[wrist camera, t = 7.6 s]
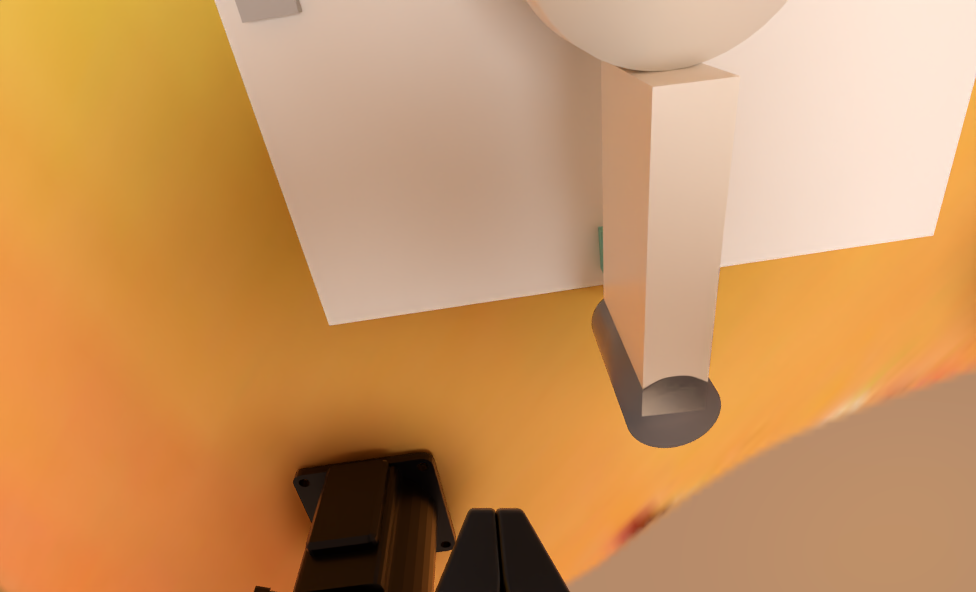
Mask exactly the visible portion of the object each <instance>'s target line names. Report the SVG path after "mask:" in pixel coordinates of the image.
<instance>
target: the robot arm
mask: <svg viewBox="0 0 976 592" xmlns="http://www.w3.org/2000/svg"><path fill="white" fill-rule="evenodd" d="M420 463H425V464H420ZM304 479H306V480H304ZM293 484H294V486H295V488H296V491H297V493H298V495H299V497H300V499H301V501H302V503H303V505H304V508H305V510H306V512H307V514H308V516H309V518H310V520H311V522H312V525H311V528H310V532H309V535H308V538H307V542H306V548H305V552H304V555H303V559H302V562H301V566H300V569H299V572H298V576H297V579H296V583H295V586H294V590H293V592H434V576H435V558H436V552H442V551H449V550H452V552H451V554H450V557H449V559H448V562H447V564H446V566H445V569H444V571H443V574H442V576H441V579H440V581H439V583H438V586H437V588H436V591H435V592H570V591H569V590H568V588H567V586H566V584H565V582H564V581H563V579H562V577H561V576H560V574H559V572H558V570H557V569H556V567H555V565H554V563H553V562H552V560H551V558H550V556H549V555H548V553H547V551H546V550H545V548H544V546H543V544H542V543H541V541H540V539H539V537H538V536H537V534H536V532H535V530H534V529H533V527H532V525H531V524H530V522H529V520H528V518H527V517H526V515H525V513H524V512H523V511H522V510H521V509H518V508H500V509H498V510H497V511H496V513H495V510H494V509H492V508H472V509H470V510H469V511H468V513H467V515H466V518H465V520H464V523H463V525H462V528H461V530H460V532H459V535H458V537H457V540H456V536H455V532H454V529H453V525H452V521H451V518H450V514H449V511H448V507H447V504H446V500H445V497H444V493H443V489H442V486H441V482H440V479H439V475H438V472H437V468H436V465H435V461H434V458H433V456H432V455H430V454H428V453H414V454H406V455H399V456H392V457H384V458H377V459H370V460H363V461H355V462H348V463H341V464H333V465H326V466H319V467H312V468H304V469H300V470H298V471H297V472H296V475H295V478H294V480H293ZM270 589H271V588H267V587H261V586H256V587H255V590H254V592H275V591H270Z"/></svg>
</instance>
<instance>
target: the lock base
mask: <svg viewBox="0 0 976 592" xmlns="http://www.w3.org/2000/svg"><path fill="white" fill-rule="evenodd" d="M215 3H216V6H217V9H218V12H219V15H220V17H221V20H222V23H223V26H224V29H225V32H226V34H227V37H228V40H229V43H230V46H231V49H232V51H233V54H234V57H235V60H236V63H237V66H238V68H239V71H240V74H241V77H242V80H243V83H244V85H245V88H246V91H247V94H248V97H249V100H250V102H251V105H252V108H253V111H254V114H255V117H256V119H257V122H258V125H259V128H260V131H261V134H262V136H263V139H264V142H265V145H266V148H267V151H268V153H269V156H270V159H271V162H272V165H273V168H274V170H275V173H276V176H277V179H278V182H279V185H280V187H281V190H282V193H283V196H284V199H285V202H286V204H287V207H288V210H289V213H290V216H291V219H292V221H293V224H294V227H295V230H296V233H297V236H298V238H299V241H300V244H301V247H302V250H303V253H304V255H305V258H306V261H307V264H308V267H309V270H310V272H311V275H312V278H313V281H314V284H315V286H316V289H317V292H318V295H319V298H320V301H321V303H322V306H323V309H324V312H325V315H326V318H327V320H328V323H329V326H330V325H337V324H344V323H350V322H357V321H364V320H370V319H377V318H384V317H390V316H397V315H404V314H410V313H417V312H424V311H430V310H437V309H444V308H451V307H457V306H464V305H471V304H477V303H484V302H491V301H497V300H504V299H511V298H517V297H524V296H531V295H537V294H544V293H551V292H557V291H564V290H571V289H578V288H584V287H591V286H598V285H604V284H603V189H602V94H601V60H600V59H597V58H596V57H594V56H592V55H590V54H589V53H587V52H585V51H584V50H582V49H580V48H578V47H577V46H575V45H573V44H571V43H570V42H568V41H566V40H565V39H563V38H561V37H560V36H558V35H557V34H556V33H555V32H553V31H552V30H551V29H550V28H548V27H547V26H546V25H545V24H544V23H543V22H542V20H541V19H540V18H539V17H538V16H537V15H536V14H535V12H534V11H533V10H532V8H531V7H530V5H529V4H528V3H527V1H526V0H215ZM702 63H703V64H706V65H709V66H712V67H715V68H718V69H721V70H724V71H727V72H729V73H732V74H735V75H738V76H740V84H739V94H738V103H737V112H736V122H735V131H734V141H733V150H732V159H731V169H730V178H729V188H728V197H727V206H726V216H725V225H724V234H723V244H722V253H721V263H720V267H725V266H731V265H738V264H745V263H751V262H758V261H765V260H771V259H778V258H785V257H791V256H798V255H805V254H811V253H818V252H825V251H832V250H838V249H845V248H852V247H858V246H865V245H872V244H878V243H885V242H892V241H898V240H905V239H912V238H918V237H925V236H932V235H934V231H935V227H936V223H937V220H938V216H939V212H940V208H941V205H942V201H943V197H944V193H945V190H946V186H947V182H948V178H949V175H950V171H951V167H952V163H953V160H954V156H955V152H956V148H957V145H958V141H959V137H960V133H961V130H962V126H963V122H964V118H965V115H966V111H967V107H968V103H969V100H970V96H971V92H972V88H973V85H974V81H975V77H976V0H788V1H787V2H786V3H785V4H784V6H783V7H782V8H781V9H780V10H779V11H778V12H777V13H776V14H775V15H774V16H773V17H772V18H771V19H770V20H769V21H768V22H767V23H766V24H765V25H764V26H763V27H761V28H760V29H759V30H758V31H756V32H755V33H754V34H753V35H751V36H750V37H749V38H748V39H746V40H745V41H743V42H742V43H740V44H738V45H737V46H735V47H734V48H732V49H730V50H729V51H727V52H725V53H723V54H721V55H719V56H717V57H715V58H712V59H710V60H708V61H705V62H702Z"/></svg>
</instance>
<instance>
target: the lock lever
mask: <svg viewBox="0 0 976 592" xmlns="http://www.w3.org/2000/svg"><path fill="white" fill-rule="evenodd" d="M526 1H527V3H528V4H529V5H530V7H531V8H532V10H533V11H534V12H535V14H536V15H537V16H538V17H539V18H540V19H541V20H542V22H543V23H544V24H545V25H546V26H547V27H548V28H550V29H551V30H552V31H553V32H555V33H556V34H557V35H558V36H560V37H561V38H563V39H565V40H566V41H568V42H570V43H571V44H573V45H575V46H577V47H578V48H580V49H582V50H584V51H585V52H587V53H589V54H590V55H592V56H594V57H596V58H597V59H600V60H601V94H602V189H603V284H604V299H603V300H602V301H601V302H600V303H599V304H598V306H597V307H596V309H595V311H594V313H593V316H592V329H593V333H594V335H595V338H596V341H597V344H598V347H599V349H600V352H601V355H602V358H603V360H604V363H605V366H606V369H607V372H608V374H609V377H610V380H611V383H612V385H613V388H614V391H615V394H616V397H617V399H618V402H619V405H620V408H621V410H622V413H623V416H624V419H625V422H626V424H627V427H628V429H629V431H630V433H631V434H632V435H633V437H634V438H636V439H637V440H638V441H640V442H641V443H643V444H646V445H648V446H652V447H658V448H671V447H677V446H681V445H685V444H687V443H690V442H692V441H694V440H696V439H698V438H700V437H701V436H702V435H704V434H705V433H706V432H707V431H708V430H709V429H710V428H711V427H712V426H713V425H714V423H715V422H716V420H717V418H718V416H719V413H720V409H721V401H720V397H719V394H718V392H717V390H716V389H715V387H714V386H713V384H712V382H711V381H710V379H709V377H708V375H709V366H710V356H711V347H712V338H713V328H714V319H715V309H716V300H717V291H718V281H719V272H720V263H721V253H722V244H723V234H724V225H725V216H726V206H727V197H728V188H729V178H730V169H731V159H732V150H733V141H734V131H735V122H736V112H737V103H738V94H739V84H740V76H738V75H735V74H732V73H729V72H727V71H724V70H721V69H718V68H715V67H712V66H709V65H706V64H703V63H702V62H705V61H708V60H710V59H712V58H715V57H717V56H719V55H721V54H723V53H725V52H727V51H729V50H730V49H732V48H734V47H735V46H737V45H738V44H740V43H742V42H743V41H745V40H746V39H748V38H749V37H750V36H751V35H753V34H754V33H755V32H756V31H758V30H759V29H760V28H761V27H763V26H764V25H765V24H766V23H767V22H768V21H769V20H770V19H771V18H772V17H773V16H774V15H775V14H776V13H777V12H778V11H779V10H780V9H781V8H782V7H783V6H784V4H785V3H786V2H787V1H788V0H526Z"/></svg>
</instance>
